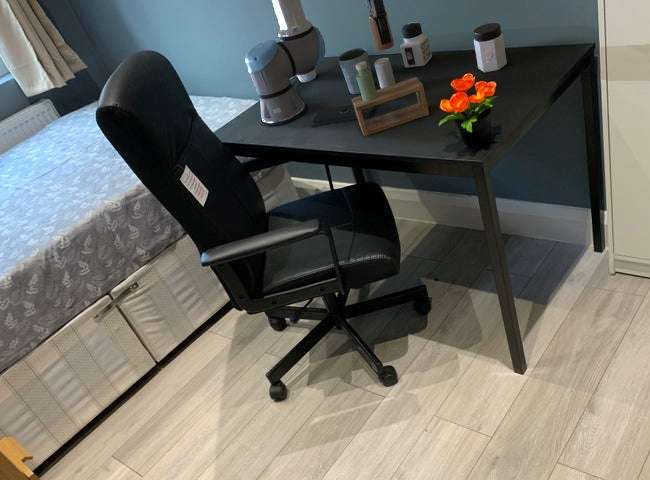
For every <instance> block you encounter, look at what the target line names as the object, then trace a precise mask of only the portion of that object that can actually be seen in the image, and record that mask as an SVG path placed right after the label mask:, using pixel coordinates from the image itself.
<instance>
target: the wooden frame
mask: <svg viewBox="0 0 650 480" xmlns="http://www.w3.org/2000/svg"><path fill="white" fill-rule="evenodd" d="M376 92H377V97H376V98H375V99H373V100H370V101H364V100H363V99H362V95H359V96H356V97H353V98H351V101H352V105H354V108H355V112H356V115H357V118H358V119H357V121H358V125H359V128H360V130H361V132H362V134H363V137H364V138H365V137H367V136H371V135H374V134H376V133H379V132H382V131H385V130H389V129H391V128H394V127H398V126H400V125H404V124H406V123H409V122H412V121H415V120H417V119H421V118H423V117H427V116H430V111H429V106H428V101H427V98H426V93H425V88H424V84H423V83H422V82H421V81H420V79H419V78H418V77H417V76H415V77H411V78H408V79H405V80H403V81H400V82H397V83H395V84H394V85H391V86H388V87H385V88H382V89H381V88H379V89H376ZM414 93H415V95H416V100H417V103H415V104H412V105H409V106H406V107H403V108H399V109H397V110H393V111H390V112H388V113H385V114H382V115H379V116H376V117H373V118H370V119H368V120H365V118H363V115H362V112H361V110H364V109H367V108H370V107H372V106H375V105H377V106H378V105H381V104H384V103H387V102H390V101H393V100H396V99H399V98H402V97H404V96H405V97H406V96H408V95H410V94H414Z"/></svg>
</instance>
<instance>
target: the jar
mask: <svg viewBox="0 0 650 480" xmlns="http://www.w3.org/2000/svg"><path fill="white" fill-rule="evenodd" d="M473 36H474V39H473V44H474V52H475V57H476V62H477V68H478V70H480V71H482V73H489V72H490V73H491V72H497V71H499V70H501V69H502V68H503V67H505V66H506V65H508V62H507V55H506V48H505V40H504V34H503V33H502V28H501V23H497V22H490V23H484V24H482V25H480V26H477V27H476V28H475V29H473Z"/></svg>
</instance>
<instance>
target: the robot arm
mask: <svg viewBox="0 0 650 480" xmlns="http://www.w3.org/2000/svg"><path fill="white" fill-rule="evenodd" d="M271 1H272V5H273V8H274V12H275V14H276V18H277V20H278V24H279V29H278V32H277V36H278V40H279V41H276V40H275V39H269V40H266V41H264V42H261V43H259V44H257V45H255V46H254V47H252V48H251V49H250V50H249V51H247V53H246V55H245V58H244V60H245V64H246V67H247V72H248V74H249V76H250V78H251V80H252V83H253V85H254V89H255V90H256V93H257V95H258V98H259V103H260V116H261V120H262V123H263V125H266V126H270V127H271V126H280V125H283V124H287V123H289V122H291V121H294V120H296V119H297V118H299V117H300V116H302V115H303V114H304V113H305V112H306V105H305V103H304V100H303V99H302V98H301V97H300V95H299V94H298V93H297V92H296V90H295V89H294V86H295V85H296V84H297V82H298V80H299V78H298V77H297V75H298V74H300V73H302V72H303V71H306V70H308V69H310V68H313V67H314V66H315V67H316V66H317V65H319V64H320V63H322V62H323V61H324V59H325V56H326V43H325V42H326V41H325V39H324V36H323V35H322V33H321V30H320V29H319V28H318V27H317V26H315V25H313V23H312V22H311V21H309V20H308V19H306V15H305V11H304V8H303V5H302V1H301V0H271ZM365 1H366V5H367V10H368V11H369V13H370V15H371V14H372V12H371V8H370V7H369V3H368V1H369V0H365ZM370 1H371V4H372V8H373V11H374V15H375V17H374V18H373V21H374V20H375V22H376V26H377V30H378V34H379V38H380V42H381V45H384V44H386V43H389V42H392V41H391V37H390V33H389V29H388V25H387V21H386V17H385V16H386V12H387V11H386V7H385V4H384V0H370ZM385 11H386V12H385ZM294 77H295V78H294ZM291 78H294V80H293V82H291Z"/></svg>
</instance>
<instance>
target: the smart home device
mask: <svg viewBox="0 0 650 480" xmlns="http://www.w3.org/2000/svg"><path fill="white" fill-rule="evenodd" d="M377 107H378V105H375V106H372V107H370V108H367V109H364V110H361V112H362V115H363V119H367V118H371V117H373V115H374V113H375V111H376V110H377ZM353 120H358V118H357V115H356V112H355V108H354V105H353V104H349V105H343V106H338V107H330V108H326V109H320V110H318V111H317V113H315V115H314V117H313V119H311V121H312V126H322V125H328V124H334V123H340V122H348V121H353Z"/></svg>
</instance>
